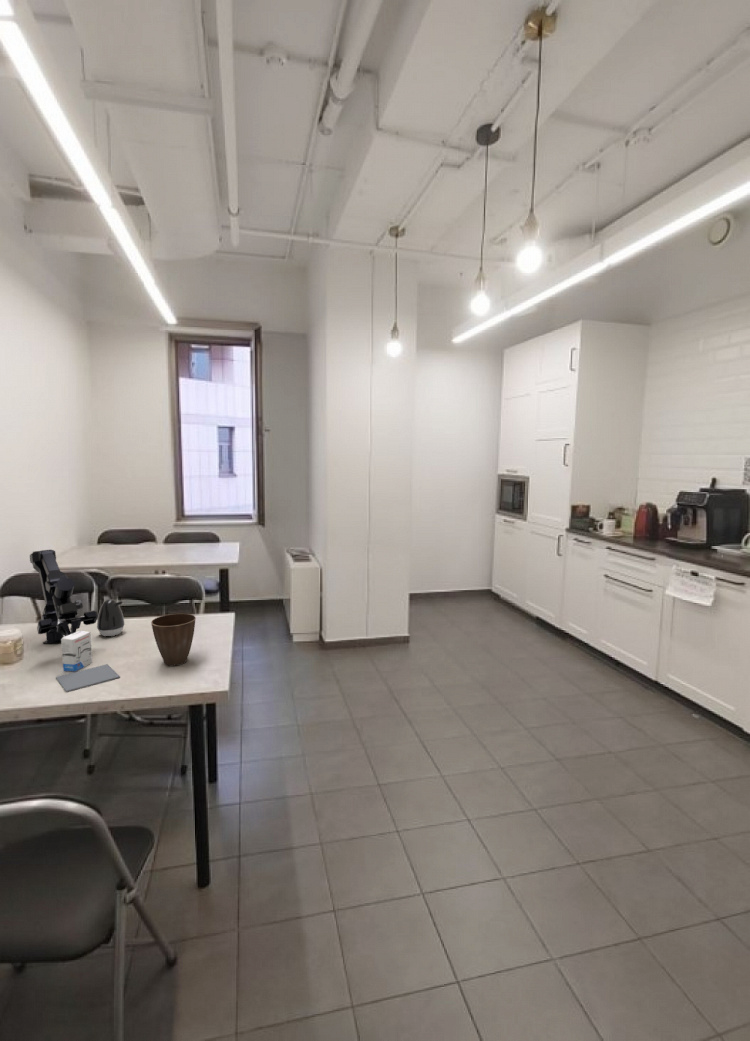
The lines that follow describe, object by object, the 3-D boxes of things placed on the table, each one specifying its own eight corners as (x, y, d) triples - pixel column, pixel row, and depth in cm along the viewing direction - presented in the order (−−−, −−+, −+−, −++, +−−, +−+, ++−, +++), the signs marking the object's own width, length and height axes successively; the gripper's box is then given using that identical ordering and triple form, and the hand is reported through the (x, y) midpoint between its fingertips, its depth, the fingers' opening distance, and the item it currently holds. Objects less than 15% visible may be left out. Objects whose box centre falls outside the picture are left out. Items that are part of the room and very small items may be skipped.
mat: (55, 678, 173) (55, 676, 173) (107, 665, 184) (107, 663, 184) (66, 692, 163) (66, 690, 163) (120, 677, 173) (120, 676, 173)
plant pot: (143, 666, 183) (141, 623, 181) (173, 651, 197) (171, 611, 195) (177, 672, 178) (175, 628, 176) (205, 657, 192) (204, 615, 190)
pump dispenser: (117, 639, 210) (115, 602, 208) (92, 638, 210) (90, 602, 208) (130, 630, 220) (128, 596, 218) (105, 630, 220) (103, 595, 218)
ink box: (74, 672, 178) (72, 639, 176) (62, 670, 179) (60, 638, 177) (93, 662, 186) (91, 631, 185) (81, 661, 187) (79, 630, 186)
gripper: (36, 598, 180) (45, 636, 174) (94, 589, 193) (105, 624, 186) (33, 615, 187) (42, 652, 180) (90, 605, 200) (100, 640, 193)
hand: (73, 641), depth 185 cm, fingers closed
